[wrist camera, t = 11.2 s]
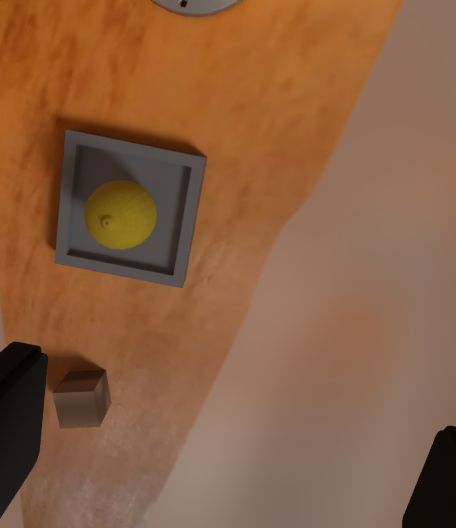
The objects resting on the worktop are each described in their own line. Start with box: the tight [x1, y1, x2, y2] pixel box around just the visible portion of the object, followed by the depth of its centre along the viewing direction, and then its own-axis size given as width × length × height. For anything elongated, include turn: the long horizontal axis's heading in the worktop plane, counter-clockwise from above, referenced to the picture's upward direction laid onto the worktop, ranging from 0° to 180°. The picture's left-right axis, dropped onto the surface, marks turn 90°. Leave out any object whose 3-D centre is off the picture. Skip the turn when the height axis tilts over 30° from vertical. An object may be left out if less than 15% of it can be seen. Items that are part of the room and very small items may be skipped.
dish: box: [55, 129, 207, 288], centre depth 38 cm, size 12×12×2 cm
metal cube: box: [53, 370, 111, 428], centre depth 42 cm, size 4×4×4 cm
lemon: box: [84, 180, 157, 250], centre depth 34 cm, size 6×6×8 cm
